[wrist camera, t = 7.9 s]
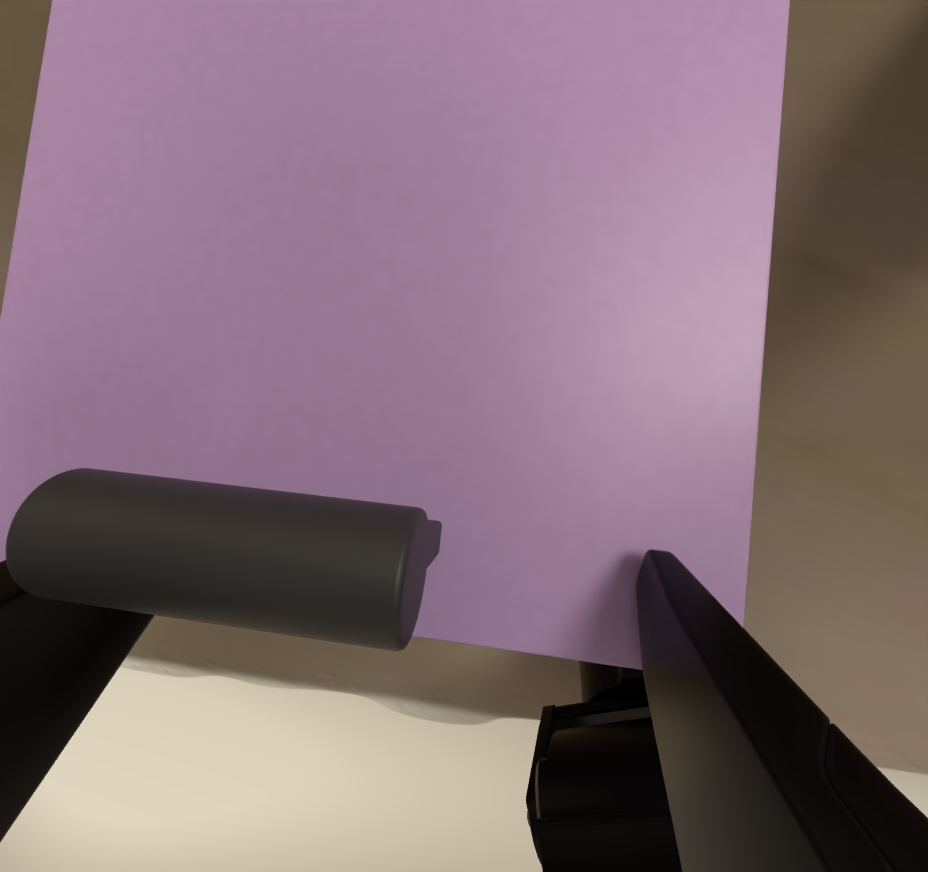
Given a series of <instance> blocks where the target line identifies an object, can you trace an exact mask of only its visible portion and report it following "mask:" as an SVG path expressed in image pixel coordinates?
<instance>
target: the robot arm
mask: <svg viewBox="0 0 928 872" xmlns="http://www.w3.org/2000/svg"><path fill="white" fill-rule="evenodd" d="M636 600H637V612H638V624H639V636H640V648H641V660H642V670H639V669H632V668H626V667H619V666H612V665H605V664H598V663H591V662H585V661H579V662H580V676H581V690H582V703H576V704H569V705H563V706H555V705H549V706H544V707H543V710H542V716H541V721H540V725H539V730H538V735H537V740H536V746H535V751H534V757H533V763H532V768H531V773H530V778H529V784H528V789H527V795H526V804H527V809H528V811H527V819H528V823H529V826H530V827H531V833H532V837H533V842H534V846H535V849H536V852H537V856H538V858H539V861H540V863H541V865H542V868H543V872H928V818H927V817H926V816H925V815H924V814H923V813H922V812H921V811H920V810H919V809H918V808H917V807H916V806H915V805H914V804H913V803H912V802H910V800H908V799H907V798H906V797H905V796H904V795H903V794H902V793H901V792H900V791H899V790H898V789H897V788H896V787H895V786H894V785H893V784H892V783H891V782H890V781H889V780H888V779H887V778H886V777H885V776H884V775H883V774H882V773H881V772H880V771H879V770H878V769H877V768H876V767H875V766H874V765H873V764H872V763H871V761H870V760H869V759H868V758H867V757H866V756H865V755H864V754H863V753H862V752H861V751H860V750H859V749H858V748H857V747H856V746H855V745H854V744H853V743H852V742H851V741H850V740H849V739H848V738H847V737H846V736H845V734H844V733H843V732H842V731H841V730H840V729H839V728H838V727H837V726H836V725H835V724H830V720H829V718H828V717H827V716H826V715H825V714H824V713H823V712H822V710H821V709H820V708H819V707H818V706H817V705H816V704H815V703H814V702H813V701H812V700H811V699H810V698H809V697H808V696H807V695H806V694H805V692H804V691H803V690H802V689H801V688H800V687H799V686H798V685H797V684H796V683H795V682H794V681H793V680H792V679H791V678H790V677H789V676H788V675H787V673H786V672H785V671H784V670H783V669H782V668H781V667H780V666H779V665H778V664H777V663H776V662H775V661H774V660H773V659H772V658H771V657H770V656H769V654H768V653H767V652H766V651H765V650H764V649H763V648H762V647H761V646H760V645H759V644H758V643H757V642H756V641H755V640H754V639H753V638H752V636H751V635H750V634H749V633H748V632H747V631H746V630H745V629H744V628H743V627H742V626H741V625H740V624H739V623H738V622H737V621H736V620H735V619H734V617H733V616H732V615H731V614H730V613H729V612H728V611H727V610H726V609H725V608H724V607H723V606H722V605H721V604H720V603H719V602H718V601H717V600H716V598H715V597H714V596H713V595H712V594H711V593H710V592H709V591H708V590H707V589H706V588H705V587H704V586H703V585H702V584H701V583H700V582H699V580H698V579H697V578H696V577H695V576H694V575H693V574H692V573H691V572H690V571H689V570H688V569H687V568H686V567H685V566H684V565H683V564H682V563H681V561H680V560H679V559H678V558H677V557H676V556H675V555H674V554H673V553H671V552H669V551H663V550H655V549H650V550H647V552H646V553H645V555H644V558H643V562H642V565H641V568H640V571H639V574H638V578H637V582H636ZM153 617H154V615H153V614H146V613H139V612H133V611H126V610H119V609H113V608H106V607H99V606H93V605H86V604H79V603H73V602H66V601H59V600H53V599H46V598H40V597H37V596H34V595H31V594H29V593H28V592H26V591H25V590H23V589H22V588H21V587H20V586H19V585H18V584H17V583H16V582H15V581H14V579H13V578H12V576H11V574H10V572H9V569H8V567H7V562H6V560H4V561H1V562H0V842H1V841H2V839H3V837H4V836H5V835H6V833H7V832H8V830H9V829H10V827H11V826H12V824H13V823H14V821H15V820H16V818H17V817H18V816H19V814H20V813H21V811H22V809H23V808H24V807H25V805H26V804H27V802H28V801H29V799H30V798H31V796H32V795H33V793H34V792H35V790H36V789H37V787H38V786H39V784H40V783H41V782H42V780H43V779H44V777H45V776H46V774H47V773H48V771H49V770H50V768H51V767H52V765H53V764H54V763H55V761H56V760H57V758H58V757H59V755H60V754H61V752H62V751H63V749H64V747H65V746H66V745H67V743H68V742H69V740H70V739H71V737H72V736H73V735H74V733H75V732H76V730H77V729H78V727H79V726H80V724H81V723H82V721H83V720H84V718H85V717H86V715H87V714H88V712H89V711H90V709H91V708H92V707H93V705H94V703H95V702H96V701H97V699H98V698H99V696H100V695H101V693H102V692H103V690H104V689H105V687H106V686H107V684H108V683H109V681H110V680H111V679H112V677H113V676H114V674H115V673H116V671H117V670H118V668H119V667H120V665H121V664H122V662H123V661H124V659H125V658H126V656H127V655H128V654H129V652H130V651H131V649H132V648H133V646H134V645H135V643H136V642H137V640H138V639H139V637H140V636H141V634H142V633H143V631H144V630H145V628H146V627H147V626H148V624H149V623H150V621H151V620H152V618H153Z"/></svg>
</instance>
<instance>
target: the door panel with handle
mask: <svg viewBox="0 0 928 872" xmlns="http://www.w3.org/2000/svg"><path fill="white" fill-rule="evenodd" d="M789 6H790V0H52V5H51V11H50V17H49V23H48V29H47V36H46V42H45V48H44V54H43V60H42V66H41V72H40V78H39V85H38V91H37V97H36V103H35V109H34V115H33V121H32V127H31V134H30V140H29V146H28V152H27V158H26V164H25V170H24V176H23V183H22V189H21V195H20V201H19V207H18V213H17V219H16V225H15V231H14V238H13V244H12V250H11V256H10V262H9V268H8V274H7V280H6V287H5V293H4V299H3V305H2V311H1V317H0V562H1V561H4V560H6V562H7V567H8V569H9V572H10V574H11V576H12V578H13V579H14V581H15V582H16V583H17V584H18V585H19V586H20V587H21V588H22V589H23V590H25V591H26V592H28V593H29V594H31V595H34V596H37V597H40V598H46V599H53V600H59V601H66V602H73V603H79V604H86V605H93V606H99V607H106V608H113V609H119V610H126V611H133V612H139V613H146V614H153V615H159V616H166V617H173V618H179V619H186V620H193V621H199V622H206V623H213V624H219V625H226V626H233V627H239V628H246V629H253V630H259V631H266V632H273V633H279V634H286V635H292V636H299V637H306V638H312V639H319V640H326V641H332V642H339V643H346V644H352V645H359V646H366V647H372V648H379V649H386V650H392V651H399V650H403V649H404V648H405V647H406V646H407V644H408V642H409V641H410V639H411V636H414V637H421V638H427V639H434V640H441V641H448V642H455V643H462V644H468V645H475V646H482V647H489V648H496V649H503V650H509V651H516V652H523V653H530V654H537V655H544V656H550V657H557V658H564V659H571V660H578V661H585V662H591V663H598V664H605V665H612V666H619V667H626V668H632V669H639V670H642V660H641V648H640V636H639V624H638V612H637V600H636V582H637V578H638V574H639V571H640V568H641V565H642V562H643V558H644V555H645V553H646V552H647V550H650V549H655V550H663V551H669V552H671V553H673V554H674V555H675V556H676V557H677V558H678V559H679V560H680V561H681V563H682V564H683V565H684V566H685V567H686V568H687V569H688V570H689V571H690V572H691V573H692V574H693V575H694V576H695V577H696V578H697V579H698V580H699V582H700V583H701V584H702V585H703V586H704V587H705V588H706V589H707V590H708V591H709V592H710V593H711V594H712V595H713V596H714V597H715V598H716V600H717V601H718V602H719V603H720V604H721V605H722V606H723V607H724V608H725V609H726V610H727V611H728V612H729V613H730V614H731V615H732V616H733V617H734V619H735V620H736V621H737V622H738V623H739V624H740V625H741V626H742V627H743V624H744V610H745V597H746V583H747V570H748V557H749V543H750V530H751V516H752V503H753V489H754V476H755V463H756V449H757V436H758V422H759V409H760V395H761V382H762V369H763V355H764V342H765V328H766V315H767V301H768V288H769V275H770V261H771V248H772V234H773V221H774V207H775V194H776V180H777V167H778V154H779V140H780V127H781V113H782V100H783V86H784V73H785V60H786V46H787V33H788V19H789Z"/></svg>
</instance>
